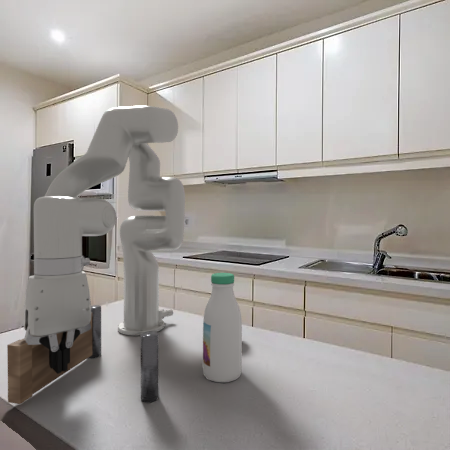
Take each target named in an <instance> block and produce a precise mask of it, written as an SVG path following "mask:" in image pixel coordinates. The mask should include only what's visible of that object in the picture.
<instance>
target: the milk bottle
mask: <svg viewBox="0 0 450 450" xmlns="http://www.w3.org/2000/svg"><path fill="white" fill-rule="evenodd" d="M210 282H211V287H212V289H211V293H210V297H209V299H208V301H207V304H206V306H205V308H204V313H203V321H202V322H203V323H202V324H203V325H202V326H203V327H202V335H203V336H202V371H203V376H204V377H205V379H207V380H209V381H212V382H215V383H229V382H232V381H236V380H237V379H239V378H240V376H241V374H242V368H243V365H242V364H243V363H242V362H243V355H242V353H243V351H242V349H243V345H242V344H243V333H242V332H243V326H242V324H243V323H242V322H243V320H242V312H241V309H240V305H239V303H238V301H237V298H236V296H235V291H234V286H235V274H233V273H230V272H216V273H212V274H211V276H210Z"/></svg>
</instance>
